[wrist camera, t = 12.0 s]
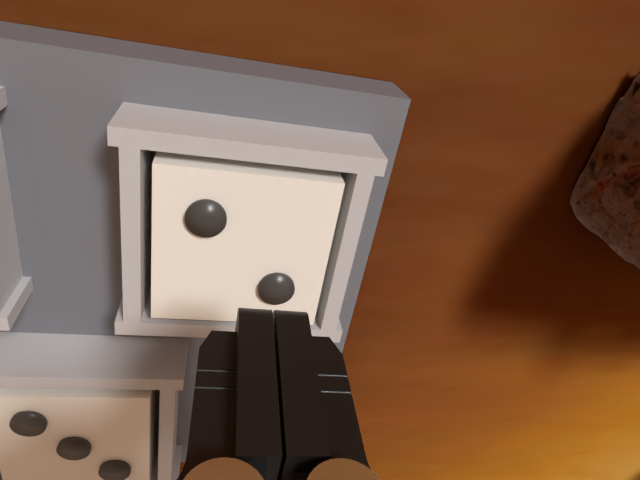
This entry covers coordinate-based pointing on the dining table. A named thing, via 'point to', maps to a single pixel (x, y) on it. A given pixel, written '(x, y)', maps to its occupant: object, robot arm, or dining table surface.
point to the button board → (136, 200)
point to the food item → (614, 181)
